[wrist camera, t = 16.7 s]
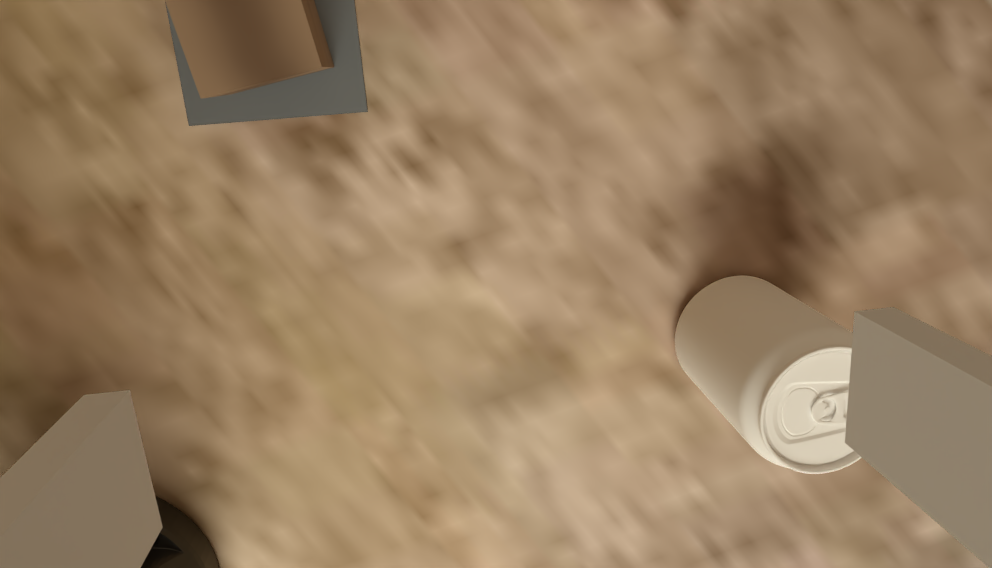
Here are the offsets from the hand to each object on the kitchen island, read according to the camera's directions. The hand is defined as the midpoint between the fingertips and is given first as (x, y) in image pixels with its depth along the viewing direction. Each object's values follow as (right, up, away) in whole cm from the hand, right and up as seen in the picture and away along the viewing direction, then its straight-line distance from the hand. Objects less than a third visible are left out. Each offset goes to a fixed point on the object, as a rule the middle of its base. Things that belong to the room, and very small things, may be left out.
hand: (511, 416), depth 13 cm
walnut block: (-13, +17, +27) cm, 34 cm away
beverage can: (+15, -1, +35) cm, 39 cm away
